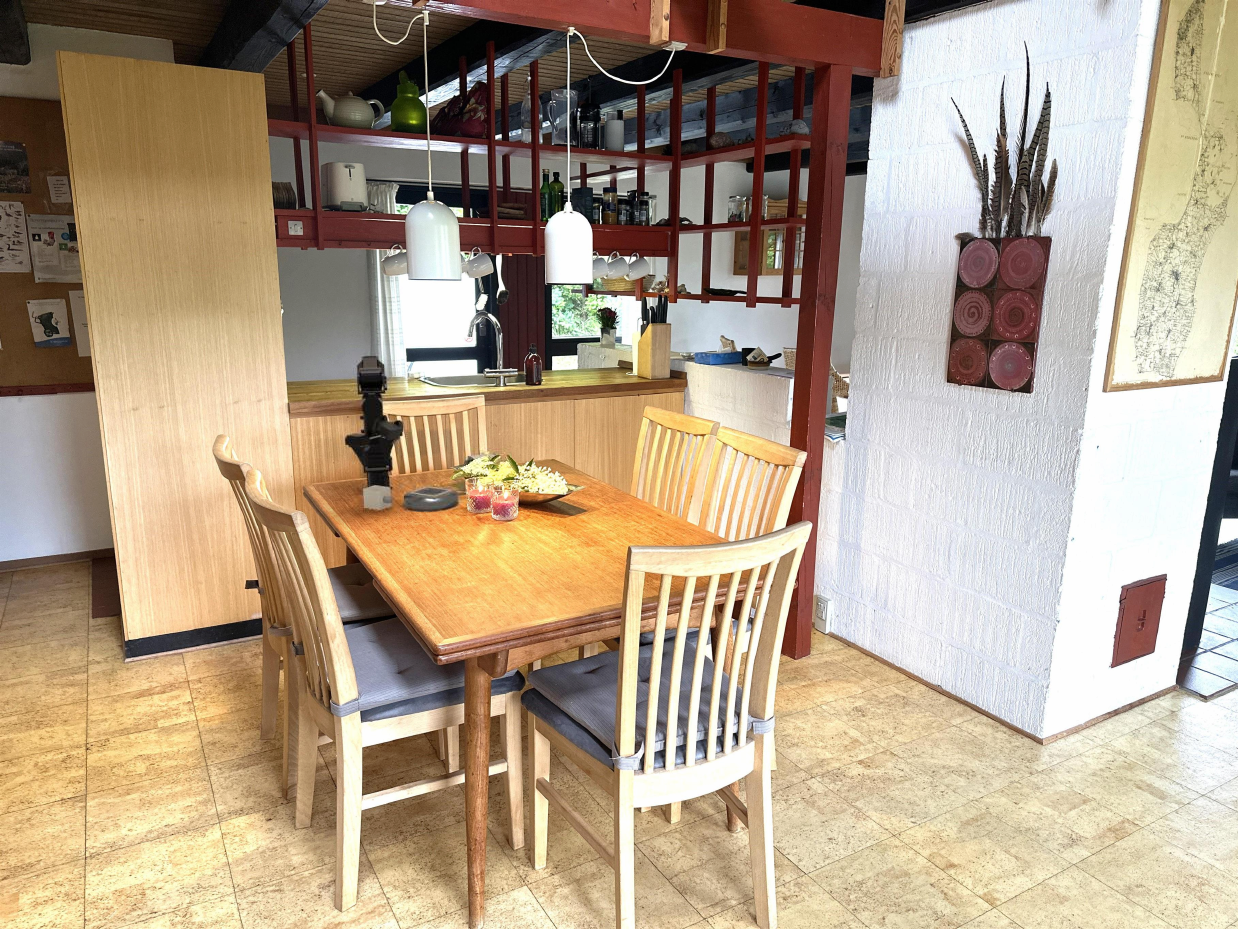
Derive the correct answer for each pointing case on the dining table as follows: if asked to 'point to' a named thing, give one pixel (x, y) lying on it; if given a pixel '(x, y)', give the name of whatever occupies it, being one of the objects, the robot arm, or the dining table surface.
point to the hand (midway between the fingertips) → (376, 464)
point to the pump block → (377, 497)
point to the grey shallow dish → (431, 499)
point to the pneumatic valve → (476, 457)
